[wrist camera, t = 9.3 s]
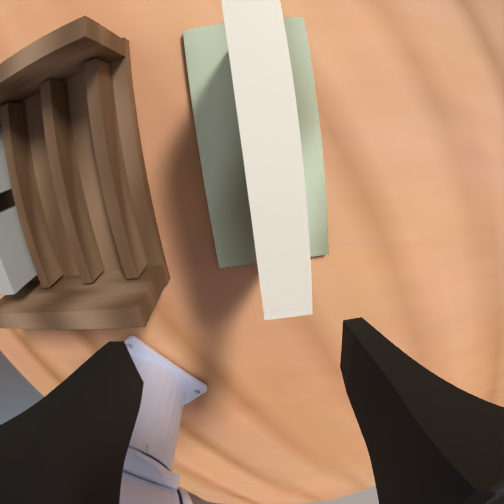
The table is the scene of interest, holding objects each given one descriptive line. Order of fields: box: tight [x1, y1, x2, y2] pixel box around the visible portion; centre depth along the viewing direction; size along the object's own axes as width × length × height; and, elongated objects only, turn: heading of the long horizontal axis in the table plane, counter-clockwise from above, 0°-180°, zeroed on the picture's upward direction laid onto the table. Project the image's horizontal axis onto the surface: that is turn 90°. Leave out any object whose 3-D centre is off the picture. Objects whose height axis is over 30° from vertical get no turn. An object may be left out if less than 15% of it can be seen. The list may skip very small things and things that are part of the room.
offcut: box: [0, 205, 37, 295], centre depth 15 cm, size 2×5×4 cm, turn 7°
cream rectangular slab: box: [221, 0, 313, 320], centre depth 12 cm, size 2×12×8 cm, turn 7°
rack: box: [0, 16, 329, 329], centre depth 14 cm, size 24×16×6 cm, turn 97°
